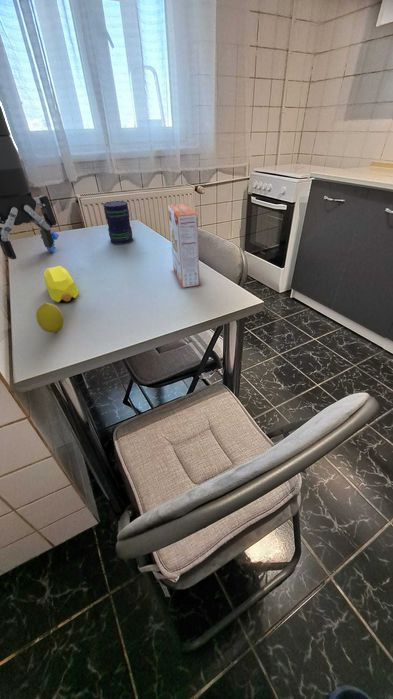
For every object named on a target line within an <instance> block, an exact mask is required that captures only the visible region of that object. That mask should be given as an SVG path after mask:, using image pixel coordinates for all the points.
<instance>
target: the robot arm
mask: <svg viewBox="0 0 393 699" xmlns="http://www.w3.org/2000/svg"><path fill="white" fill-rule="evenodd" d="M36 207H38V208H40V211H41V214H42V216H43V218H42V217H41V216H40V215H39V214H38V213H37V212H36ZM30 223H33V224H34V225H36V227H38V228H39V229H40V230H39V233H40V236H42V238H41V239H42V242H43V245H44V247H45V248H46V249H47V248H52V247H53V245H52V244H54V243H53V238H52V235H51V232H52V231H51V232H50V230H51V228H52V227H54V226H56V225H57V223H58V222H57V219H56V217H55V214H54V211H53V207H52V204H51V201H50V199H49V197H48V196H47V195H43V194H38V195H36V197H33V195H32V190H31V186H30V184H29V180H28V177H27V174H26V171H25V167H24V164H23V160H22V158H21V155H20V152H19V149H18V147H17V145H16V142H15V140H14V138H13V136H12V132H11V129H10V125H9V123H8V119H7V117H6V113H5V110H4V107H3V104H2V102H1V101H0V248H1V250H2V253H3V256H5V257H7V258H8V259H9V260H16V259H17V256H16V252H15V250H14V248H13V245H12V242H11V240H9V238H10V237H9V236H10V233H11V232H12V231H13V227H14V226H15V227H17V226H20V225H22V224H30Z"/></svg>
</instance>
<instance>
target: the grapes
mask: <svg viewBox="0 0 393 699" xmlns="http://www.w3.org/2000/svg"><path fill="white" fill-rule="evenodd" d="M50 232H51V235H52V238H53V244H52V245H53V247H52V248H47V247H46V250H47V251H48V252H50V253H52V252H53V253H54V251H55V250H56V244H55V241H56V240H58V239H59V237H60V235H59V233H57V232H56V231H52V230H51V229H50ZM40 236H41V235H40ZM40 239H42V236H41V237H40Z"/></svg>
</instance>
